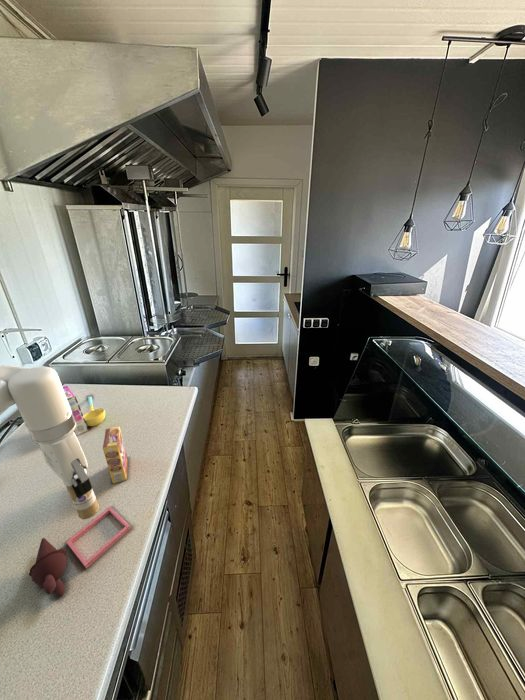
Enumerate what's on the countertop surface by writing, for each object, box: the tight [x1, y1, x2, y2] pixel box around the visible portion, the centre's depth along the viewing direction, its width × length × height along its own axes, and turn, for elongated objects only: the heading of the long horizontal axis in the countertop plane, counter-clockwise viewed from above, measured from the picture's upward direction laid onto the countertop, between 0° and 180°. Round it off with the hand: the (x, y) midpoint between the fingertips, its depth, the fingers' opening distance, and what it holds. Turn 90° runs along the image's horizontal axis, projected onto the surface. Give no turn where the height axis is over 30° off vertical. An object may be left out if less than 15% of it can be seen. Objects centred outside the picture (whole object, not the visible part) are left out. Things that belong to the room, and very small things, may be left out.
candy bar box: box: [62, 385, 90, 437], centre depth 109 cm, size 11×5×16 cm, turn 45°
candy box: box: [102, 426, 129, 484], centre depth 90 cm, size 9×4×15 cm, turn 20°
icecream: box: [28, 537, 68, 599], centre depth 66 cm, size 7×7×15 cm
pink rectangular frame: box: [65, 506, 132, 569], centre depth 74 cm, size 12×10×2 cm
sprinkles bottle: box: [62, 469, 100, 520], centre depth 67 cm, size 5×5×13 cm
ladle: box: [83, 395, 106, 427], centre depth 121 cm, size 9×26×6 cm, turn 34°
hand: (78, 486), depth 66 cm, fingers closed on sprinkles bottle, 4 cm apart
